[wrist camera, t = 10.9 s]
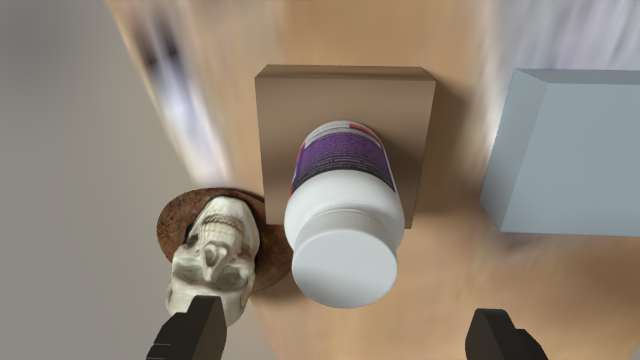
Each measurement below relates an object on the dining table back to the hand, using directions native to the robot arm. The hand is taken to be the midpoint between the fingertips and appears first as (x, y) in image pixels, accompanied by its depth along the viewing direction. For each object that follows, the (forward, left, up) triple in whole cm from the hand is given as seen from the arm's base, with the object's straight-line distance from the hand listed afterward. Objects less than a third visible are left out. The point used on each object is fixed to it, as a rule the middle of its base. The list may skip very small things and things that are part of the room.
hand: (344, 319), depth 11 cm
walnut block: (0, 0, -16) cm, 16 cm away
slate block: (0, +16, -16) cm, 22 cm away
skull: (+10, -10, -16) cm, 21 cm away
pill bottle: (0, 0, -12) cm, 12 cm away
